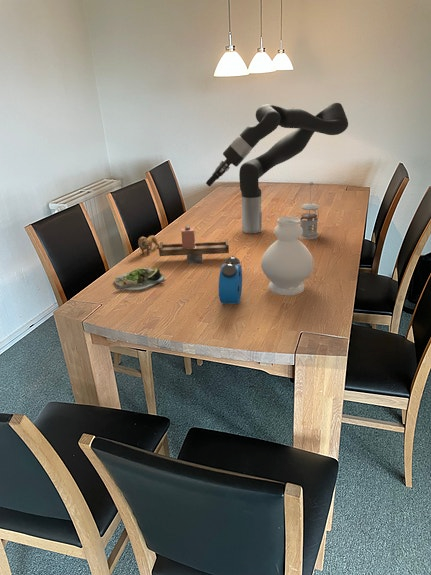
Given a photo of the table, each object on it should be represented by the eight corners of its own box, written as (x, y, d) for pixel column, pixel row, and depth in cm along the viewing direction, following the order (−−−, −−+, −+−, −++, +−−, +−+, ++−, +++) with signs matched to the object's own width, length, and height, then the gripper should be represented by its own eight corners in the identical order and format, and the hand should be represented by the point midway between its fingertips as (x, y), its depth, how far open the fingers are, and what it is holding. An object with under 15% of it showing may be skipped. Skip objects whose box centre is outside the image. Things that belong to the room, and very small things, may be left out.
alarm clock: (225, 292, 153) (224, 252, 146) (243, 293, 152) (242, 253, 145) (219, 310, 141) (217, 268, 135) (237, 311, 140) (237, 269, 134)
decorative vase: (300, 303, 144) (304, 231, 133) (252, 292, 152) (252, 223, 141) (319, 282, 157) (324, 215, 146) (274, 273, 166) (275, 209, 155)
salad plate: (128, 300, 151) (127, 288, 149) (102, 285, 163) (100, 273, 161) (172, 282, 163) (171, 271, 161) (145, 269, 175) (143, 259, 173)
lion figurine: (148, 259, 184) (146, 238, 180) (137, 258, 185) (134, 238, 182) (161, 246, 197) (159, 227, 193) (150, 246, 198) (148, 227, 194)
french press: (293, 236, 203) (295, 182, 192) (306, 229, 210) (309, 177, 199) (311, 240, 196) (315, 185, 186) (324, 233, 204) (328, 180, 193)
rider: (195, 245, 180) (193, 225, 176) (195, 249, 176) (193, 228, 172) (183, 246, 180) (181, 225, 176) (182, 250, 176) (181, 229, 172)
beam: (228, 255, 184) (227, 239, 180) (229, 262, 177) (228, 244, 174) (162, 258, 184) (160, 242, 180) (160, 265, 177) (158, 248, 174)
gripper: (245, 159, 162) (214, 194, 167) (244, 156, 174) (215, 188, 179) (230, 145, 160) (199, 180, 165) (230, 143, 173) (201, 176, 178)
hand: (207, 184), depth 172 cm, fingers closed
